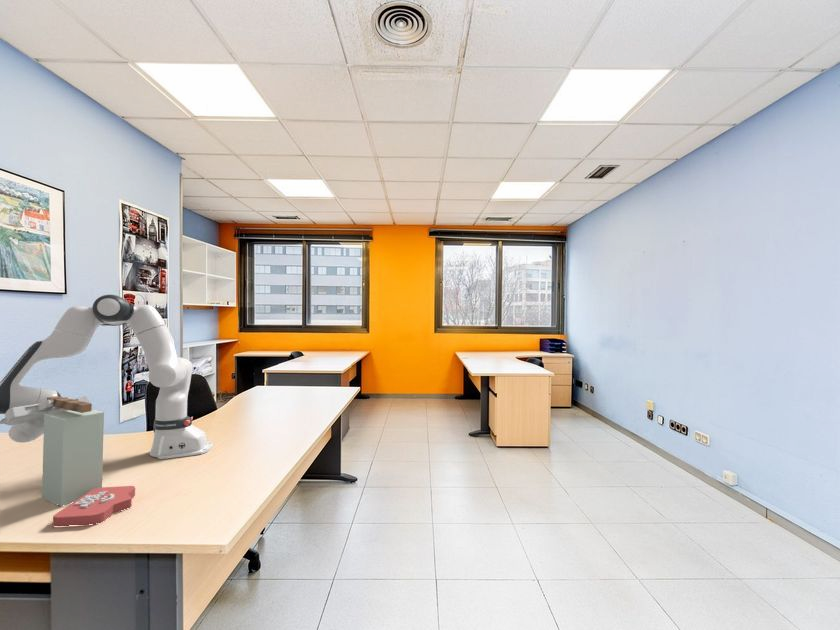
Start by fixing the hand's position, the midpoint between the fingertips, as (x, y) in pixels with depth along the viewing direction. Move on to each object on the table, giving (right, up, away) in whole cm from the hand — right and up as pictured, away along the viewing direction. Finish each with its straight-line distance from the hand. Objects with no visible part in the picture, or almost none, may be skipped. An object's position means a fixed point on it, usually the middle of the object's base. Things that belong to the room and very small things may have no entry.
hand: (59, 400), depth 120 cm
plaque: (+24, -30, -12) cm, 41 cm away
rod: (+5, -2, -2) cm, 6 cm away
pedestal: (+8, -29, -4) cm, 31 cm away
